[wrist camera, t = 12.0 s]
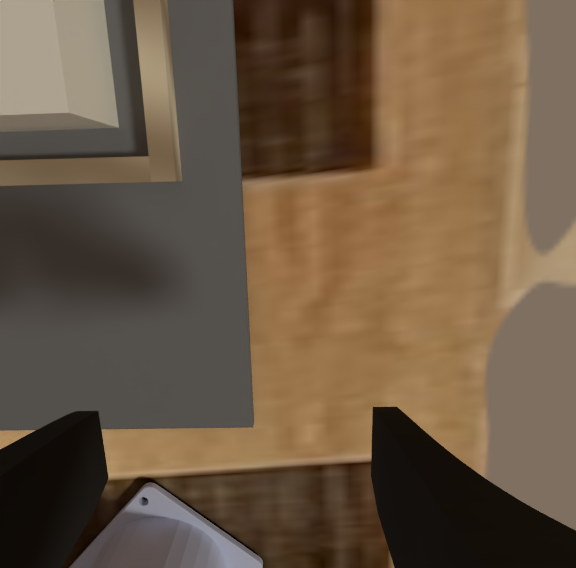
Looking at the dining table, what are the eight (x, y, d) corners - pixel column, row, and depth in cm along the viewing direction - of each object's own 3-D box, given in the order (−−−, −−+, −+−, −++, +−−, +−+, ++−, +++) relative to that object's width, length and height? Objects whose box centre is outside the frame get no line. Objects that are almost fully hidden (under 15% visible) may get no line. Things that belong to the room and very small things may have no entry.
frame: (182, 181, 18) (175, 181, 17) (-47, 187, 18) (-66, 187, 17) (149, -212, 15) (139, -240, 14) (-127, -199, 15) (-156, -225, 14)
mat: (253, 421, 21) (253, 427, 21) (-37, 425, 22) (-44, 430, 21) (221, -223, 15) (219, -237, 15) (-184, -204, 16) (-199, -216, 15)
